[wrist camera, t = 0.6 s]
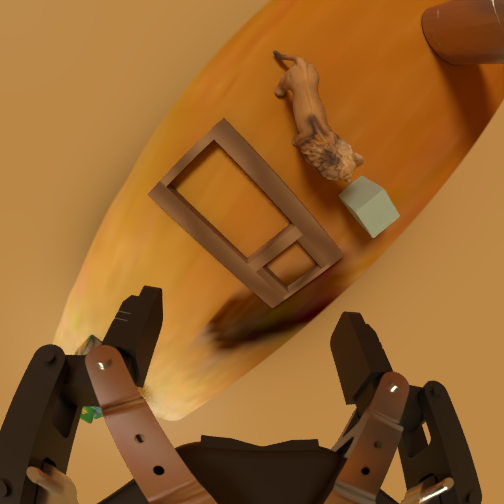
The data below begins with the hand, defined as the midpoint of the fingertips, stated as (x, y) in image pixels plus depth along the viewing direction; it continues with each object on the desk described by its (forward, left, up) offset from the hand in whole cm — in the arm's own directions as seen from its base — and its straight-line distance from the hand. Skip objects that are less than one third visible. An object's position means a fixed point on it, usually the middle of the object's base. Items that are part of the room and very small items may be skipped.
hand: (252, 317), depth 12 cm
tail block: (-10, +10, -22) cm, 26 cm away
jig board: (+2, +3, -22) cm, 23 cm away
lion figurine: (-11, -2, -22) cm, 25 cm away
